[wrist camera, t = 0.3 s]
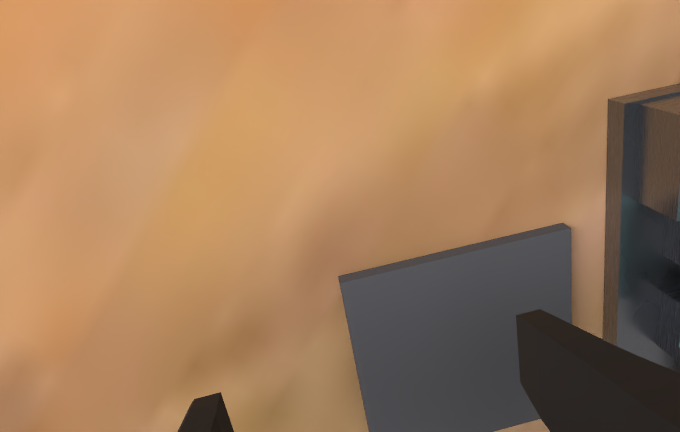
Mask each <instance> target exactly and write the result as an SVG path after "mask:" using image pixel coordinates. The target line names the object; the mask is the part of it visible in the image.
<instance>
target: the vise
mask: <svg viewBox="0 0 680 432" xmlns="http://www.w3.org/2000/svg"><path fill="white" fill-rule="evenodd" d="M603 340H605V341H607V342H609V343H611V344H613V345H615V346H617V347H619V348H622V349H624V350H626V351H628V352H631V353H633V354H635V355H637V356H640V357H642V358H645V359H647V360H649V361H652V362H654V363H657V364H659V365H661V366H664V367H666V368H669V369H672V370H674V371H677V372H680V347H679V342H680V84H676V85H671V86H667V87H662V88H658V89H653V90H649V91H644V92H639V93H635V94H630V95H626V96H621V97H616V98H612V99H608V142H607V188H606V235H605V282H604V328H603Z"/></svg>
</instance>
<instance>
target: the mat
mask: <svg viewBox="0 0 680 432" xmlns="http://www.w3.org/2000/svg"><path fill="white" fill-rule="evenodd" d="M338 277H339V282H340V287H341V292H342V297H343V302H344V308H345V313H346V318H347V323H348V328H349V333H350V338H351V343H352V348H353V353H354V358H355V363H356V368H357V373H358V378H359V383H360V389H361V394H362V399H363V404H364V409H365V414H366V419H367V424H368V429H369V432H493V431H497V430H500V429H504V428H508V427H512V426H515V425H519V424H523V423H526V422H530V421H534V420H537V419H541V418H540V416H539V414H538V413H537V411H536V409H535V408H534V406H533V404H532V403H531V401H530V399H529V397H528V395H527V394H526V392H525V390H524V388H523V386H522V385H521V383H520V370H519V355H518V340H517V325H516V315H519V314H522V313H526V312H530V311H534V310H538V309H541V310H543V311H545V312H547V313H550V314H552V315H554V316H556V317H558V318H560V319H562V320H564V321H566V322H568V323H570V324H571V228H570V227H568V226H567V225H565V224H564V223H561V224H556V225H552V226H548V227H544V228H540V229H535V230H531V231H527V232H523V233H519V234H514V235H510V236H506V237H502V238H498V239H493V240H489V241H485V242H481V243H477V244H472V245H468V246H464V247H460V248H456V249H451V250H447V251H443V252H439V253H435V254H430V255H426V256H422V257H418V258H414V259H409V260H405V261H401V262H397V263H393V264H388V265H384V266H380V267H376V268H372V269H367V270H363V271H359V272H355V273H351V274H346V275H342V276H338Z"/></svg>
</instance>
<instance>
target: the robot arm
mask: <svg viewBox="0 0 680 432" xmlns="http://www.w3.org/2000/svg"><path fill="white" fill-rule="evenodd" d="M516 325H517V340H518V355H519V370H520V383H521V385H522V386H523V388H524V390H525V392H526V394H527V395H528V397H529V399H530V401H531V403H532V404H533V406H534V408H535V409H536V411H537V413H538V414H539V416H540V418H541V419H542V421H543V422H544V424H545V425H546V426H547V428H548V429H549V430H550V432H680V372H677V371H674V370H672V369H669V368H666V367H664V366H661V365H659V364H657V363H654V362H652V361H649V360H647V359H645V358H642V357H640V356H637V355H635V354H633V353H631V352H628V351H626V350H624V349H622V348H619V347H617V346H615V345H613V344H611V343H609V342H607V341H605V340H602V339H600V338H598V337H596V336H594V335H592V334H590V333H588V332H586V331H584V330H582V329H580V328H578V327H576V326H574V325H572V324H570V323H568V322H566V321H564V320H562V319H560V318H558V317H556V316H554V315H552V314H550V313H547V312H545V311H543V310H541V309H538V310H534V311H530V312H526V313H522V314H519V315H516ZM178 432H234V431H233V428H232V425H231V422H230V419H229V416H228V413H227V410H226V407H225V404H224V401H223V398H222V395H221V392H220V393H216V394H212V395H209V396H205V397H201V398H197V399H194V401H193V402H192V404H191V405H190V407H189V409H188V411H187V413H186V416H185V418H184V420H183V422H182V424H181V426H180V428H179V430H178Z"/></svg>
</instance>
